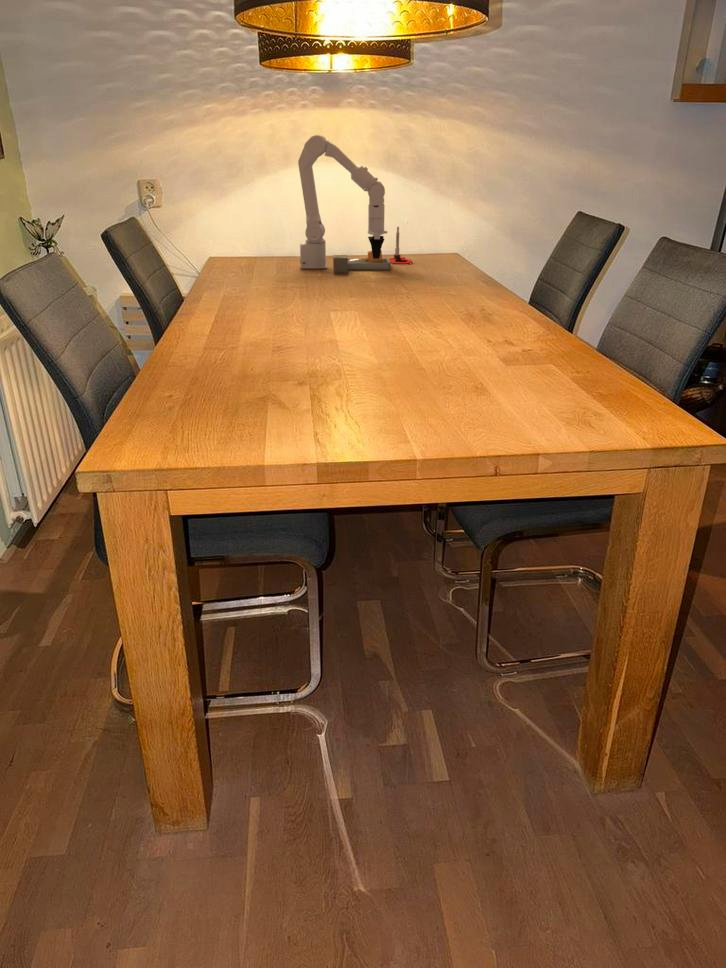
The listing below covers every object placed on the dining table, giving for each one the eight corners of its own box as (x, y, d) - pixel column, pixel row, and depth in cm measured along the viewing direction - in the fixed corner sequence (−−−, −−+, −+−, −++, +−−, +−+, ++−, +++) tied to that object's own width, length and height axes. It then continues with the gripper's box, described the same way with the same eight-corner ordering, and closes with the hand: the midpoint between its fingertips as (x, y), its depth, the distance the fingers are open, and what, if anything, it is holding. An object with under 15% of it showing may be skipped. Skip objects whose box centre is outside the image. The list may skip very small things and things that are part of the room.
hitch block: (333, 273, 260) (333, 258, 257) (333, 270, 266) (333, 255, 264) (347, 273, 260) (347, 258, 258) (347, 270, 266) (347, 255, 264)
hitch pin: (342, 270, 270) (340, 256, 268) (342, 269, 274) (340, 255, 271) (383, 265, 270) (381, 250, 268) (382, 263, 273) (380, 249, 271)
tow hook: (415, 265, 280) (406, 260, 288) (417, 229, 274) (407, 225, 282) (395, 266, 278) (386, 261, 285) (396, 230, 272) (386, 226, 279)
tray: (335, 270, 267) (334, 263, 266) (335, 265, 277) (335, 258, 275) (390, 270, 267) (390, 263, 266) (388, 265, 277) (388, 258, 276)
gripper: (388, 220, 258) (388, 260, 264) (386, 216, 271) (385, 254, 277) (368, 220, 258) (368, 260, 264) (367, 216, 271) (367, 254, 277)
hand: (376, 257), depth 270 cm, fingers closed on hitch pin, 4 cm apart
